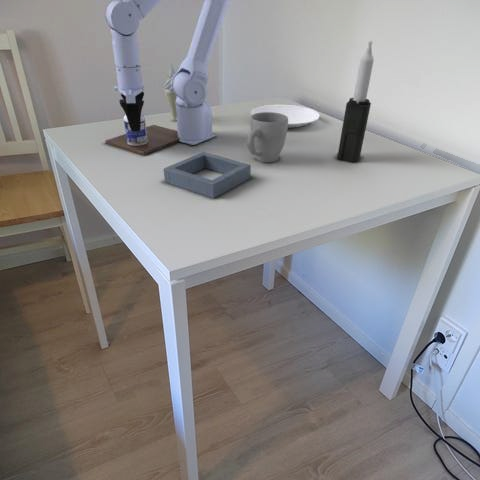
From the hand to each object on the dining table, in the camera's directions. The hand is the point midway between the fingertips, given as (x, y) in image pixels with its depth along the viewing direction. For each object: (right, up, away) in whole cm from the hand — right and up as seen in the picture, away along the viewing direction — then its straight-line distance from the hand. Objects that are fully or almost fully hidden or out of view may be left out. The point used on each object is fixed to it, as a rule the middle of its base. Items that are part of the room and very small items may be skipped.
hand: (135, 127), depth 107 cm
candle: (+54, -8, 0) cm, 54 cm away
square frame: (+19, -18, -13) cm, 29 cm away
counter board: (+2, -1, +7) cm, 7 cm away
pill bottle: (0, -3, +3) cm, 4 cm away
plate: (+40, +12, +23) cm, 48 cm away
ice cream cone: (+7, +11, +21) cm, 25 cm away
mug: (+32, -10, -3) cm, 34 cm away
